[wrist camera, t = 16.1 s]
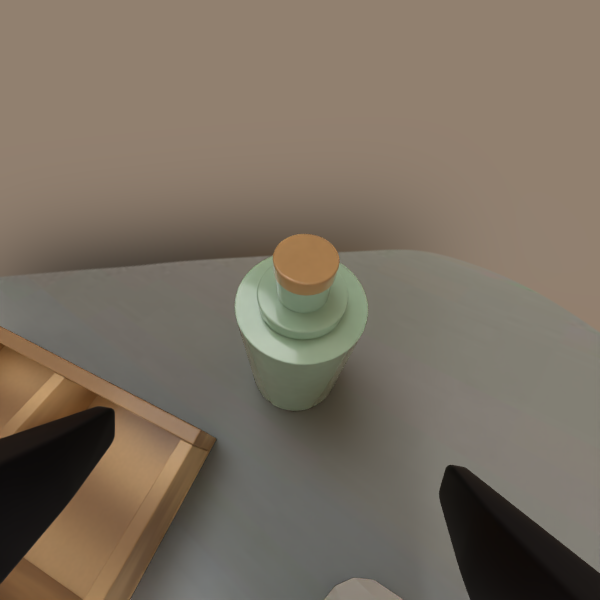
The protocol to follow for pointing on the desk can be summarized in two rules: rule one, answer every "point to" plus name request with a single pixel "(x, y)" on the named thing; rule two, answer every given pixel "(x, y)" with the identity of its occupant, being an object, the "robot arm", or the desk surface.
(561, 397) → the desk surface
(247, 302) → the bottle
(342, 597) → the shot glass
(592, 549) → the desk surface
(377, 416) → the desk surface
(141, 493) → the crate
